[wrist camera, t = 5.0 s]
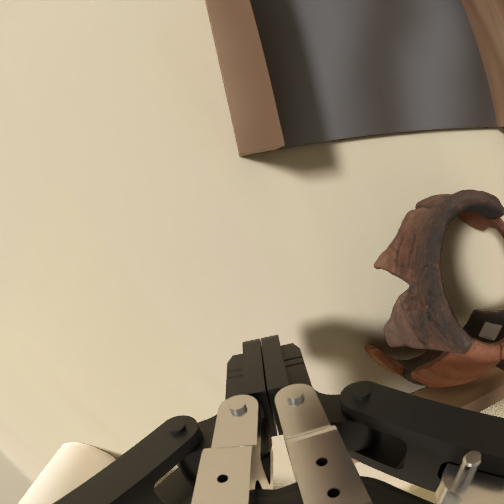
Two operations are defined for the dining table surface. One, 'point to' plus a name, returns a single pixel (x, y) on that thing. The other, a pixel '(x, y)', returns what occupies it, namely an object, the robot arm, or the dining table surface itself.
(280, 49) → the wooden divided tray
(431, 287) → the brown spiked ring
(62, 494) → the foam cup
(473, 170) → the dining table surface
